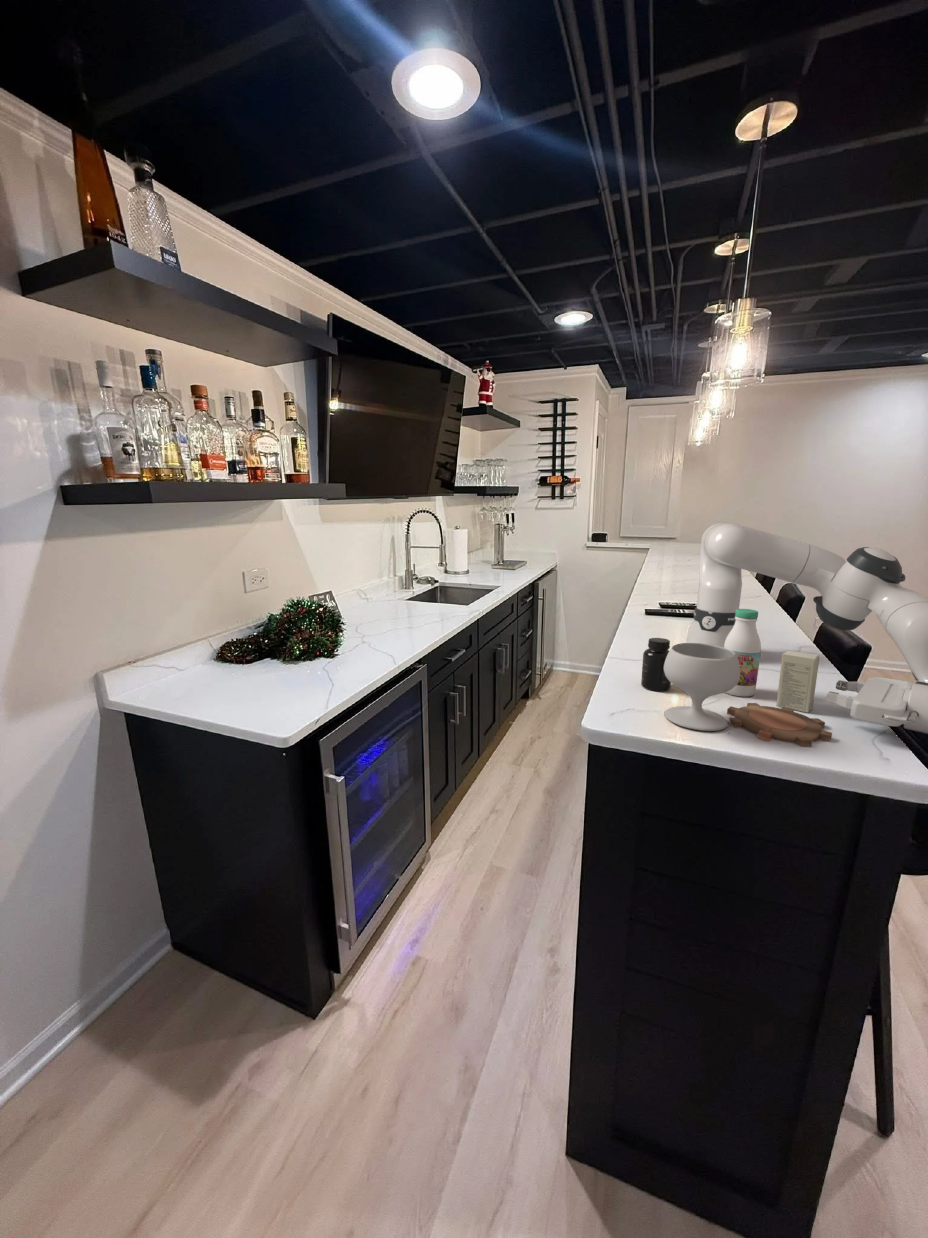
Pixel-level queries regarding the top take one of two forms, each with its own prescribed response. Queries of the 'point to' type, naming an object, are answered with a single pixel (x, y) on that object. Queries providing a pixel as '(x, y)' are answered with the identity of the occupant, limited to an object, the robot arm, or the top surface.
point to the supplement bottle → (655, 665)
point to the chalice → (700, 682)
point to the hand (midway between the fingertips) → (831, 690)
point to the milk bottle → (745, 651)
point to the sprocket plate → (778, 724)
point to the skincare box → (797, 680)
